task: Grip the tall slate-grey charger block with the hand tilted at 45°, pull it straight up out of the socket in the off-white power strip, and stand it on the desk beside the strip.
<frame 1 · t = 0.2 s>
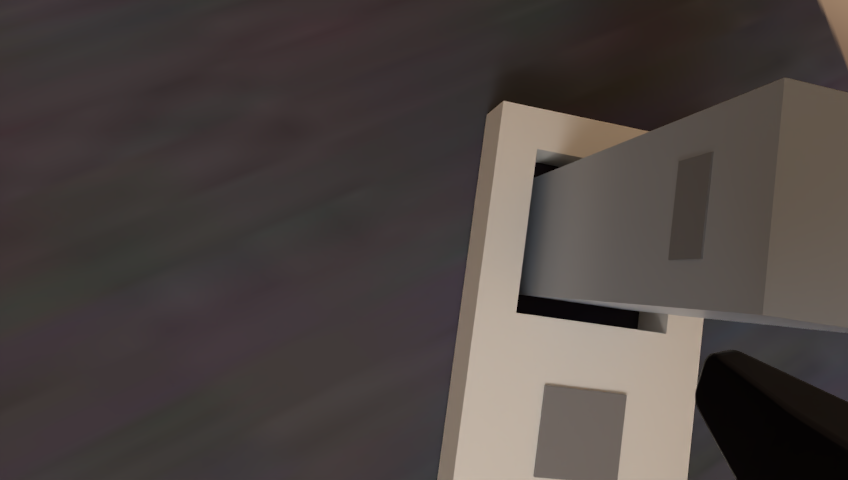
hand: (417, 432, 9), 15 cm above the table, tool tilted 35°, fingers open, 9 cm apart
power strip: (557, 421, 24), on the table
charger: (577, 245, 25), resting in power strip
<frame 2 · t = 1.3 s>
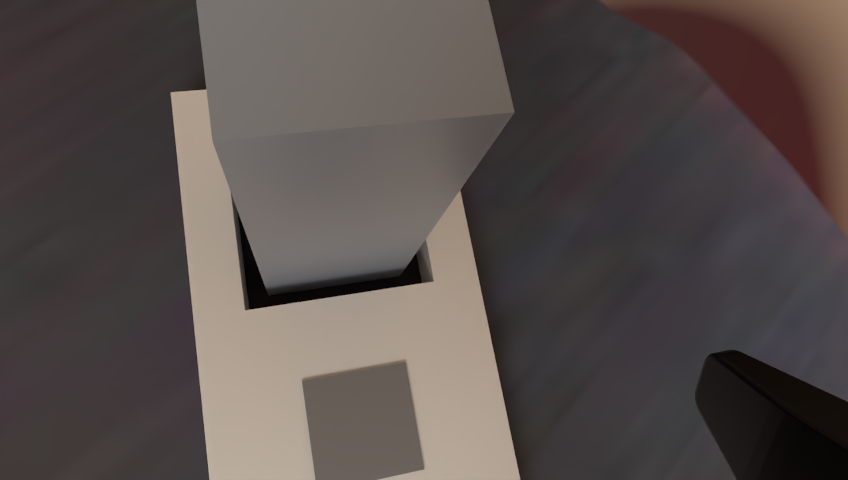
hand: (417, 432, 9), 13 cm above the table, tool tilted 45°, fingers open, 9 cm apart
power strip: (357, 423, 21), on the table
charger: (325, 223, 22), resting in power strip
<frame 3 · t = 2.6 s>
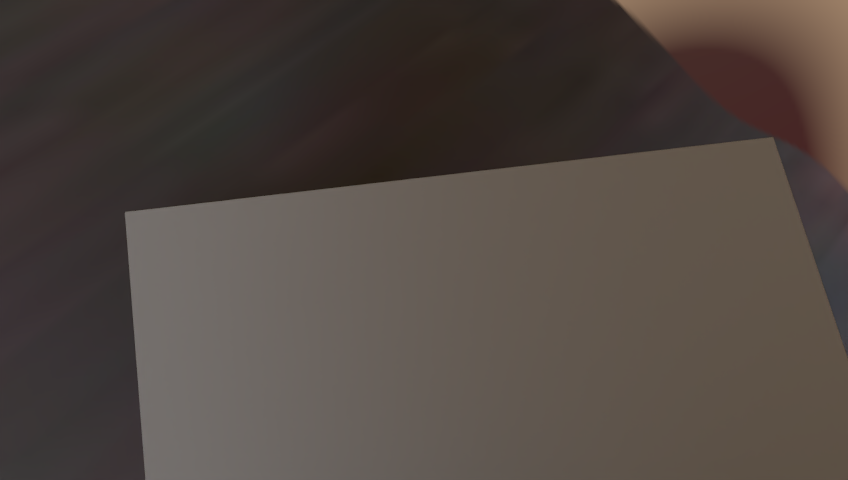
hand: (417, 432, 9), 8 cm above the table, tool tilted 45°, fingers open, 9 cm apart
charger: (368, 437, 16), resting in power strip
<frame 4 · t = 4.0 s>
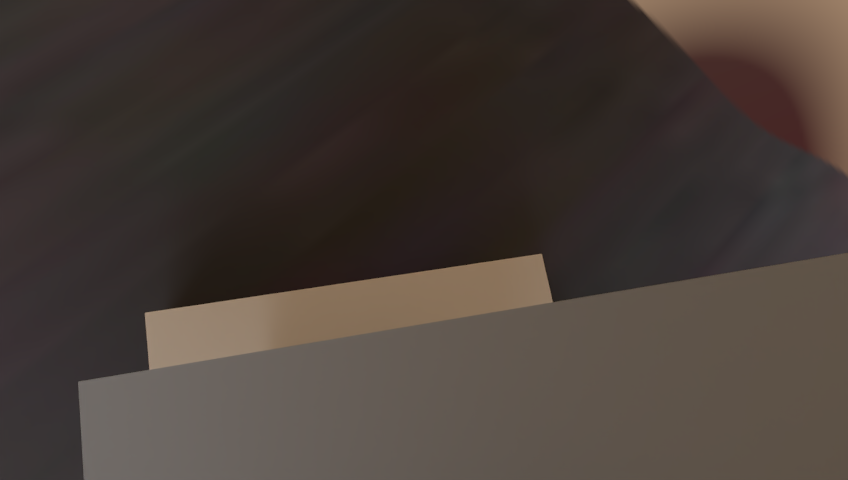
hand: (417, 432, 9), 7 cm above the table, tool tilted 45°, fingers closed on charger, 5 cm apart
charger: (378, 478, 15), resting in power strip, touching gripper
when the fingers open (8 cm above the table, at t = 8.7 s): charger drops 1 cm, on the table.
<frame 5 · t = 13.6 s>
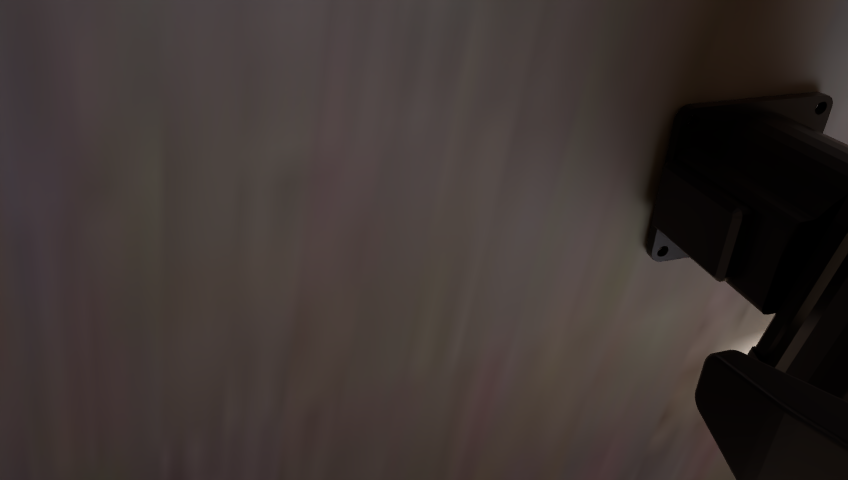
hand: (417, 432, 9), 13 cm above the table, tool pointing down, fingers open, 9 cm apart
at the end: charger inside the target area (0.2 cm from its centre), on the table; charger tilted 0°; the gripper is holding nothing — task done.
